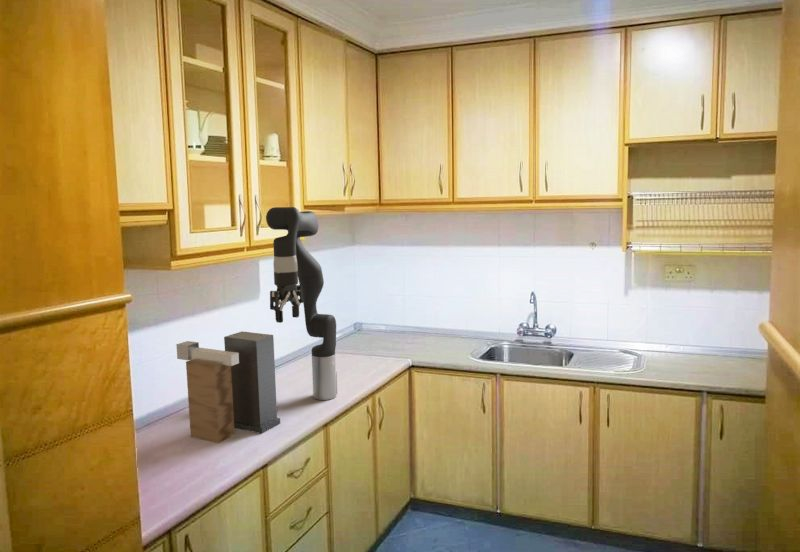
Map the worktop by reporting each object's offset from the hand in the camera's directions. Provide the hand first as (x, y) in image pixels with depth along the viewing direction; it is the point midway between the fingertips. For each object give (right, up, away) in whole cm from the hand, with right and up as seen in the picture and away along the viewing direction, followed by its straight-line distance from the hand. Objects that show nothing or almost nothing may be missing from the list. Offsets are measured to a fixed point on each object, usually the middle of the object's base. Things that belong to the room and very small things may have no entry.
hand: (287, 319), depth 203 cm
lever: (-27, -14, +5) cm, 31 cm away
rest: (-27, -40, +9) cm, 49 cm away
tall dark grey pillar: (-15, -38, +18) cm, 45 cm away
